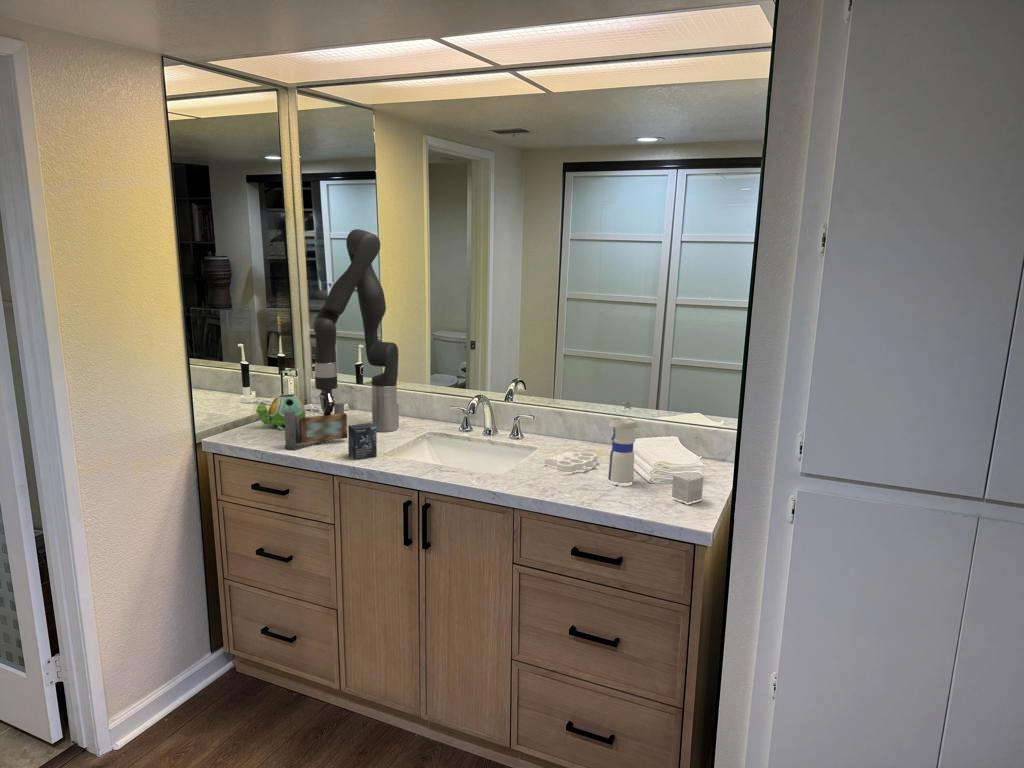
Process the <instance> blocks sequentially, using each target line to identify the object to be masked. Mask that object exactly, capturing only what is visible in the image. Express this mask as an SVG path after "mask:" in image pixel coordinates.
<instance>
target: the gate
mask: <svg viewBox="0 0 1024 768" xmlns="http://www.w3.org/2000/svg"><path fill="white" fill-rule="evenodd" d="M347 419H348V415H347V413H345V412H344V414H331V415H324V414H323V415H314V416H305V417H302V418H300V415H295V430H296V444H299V443H307V442H316V441H325V440H331V441H334V440H333V439H335V440H341V439H347V438H348V420H347Z"/></svg>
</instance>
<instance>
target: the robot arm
mask: <svg viewBox="0 0 1024 768" xmlns="http://www.w3.org/2000/svg"><path fill="white" fill-rule="evenodd" d="M345 246H346V249H347V253H348V256H349V260H350V265H349V266H348V267H347V269H346V270H345V271H344V272H343V273H342V274H341V276H340V277H338V278H337V280H336V281H335V282H334V284H333V285H332V287H331V288H330V291H329V292H328V295H327V296H326V298H325V299H326V300H325V301H324V304H323V305H322V307H321V309H320V310H319V312H318V314H317V316H316V317H315V318H314V321H313V324H312V325H313V326H312V328H313V331H314V333H315V348H314V387H315V389H316V390H320V393H319V394H318V397H319V402H320V408H321V410H322V413H323V415H332V413H333V412H334V404H335V400H334V398H335V397H334V393H333V390H335V389H337V388H338V368H337V367H338V365H337V355H336V354H337V351H336V344H337V326H336V324H337V322H338V320H339V318H340V316H341V315H342V314H343V313H344V312H345V310H346V308H347V306H348V304H349V301H350V300H351V298H352V295H353V294H354V291H355V290H356V292H357V293H356V294H357V298H358V299H357V300H358V304H359V305H358V307H359V311H360V315H361V319H362V325H363V331H364V332H363V333H364V343H365V344H364V345H365V355H366V359H367V361H368V364H369V365H370V366H373V367H380V368H381V367H382V368H384V370H383V372H382V373H381V374H377V375H373V376H372V377H371V414H372V415H371V424H373V425H375V426H376V427H377V432H379V433H389V432H393V431H396V430H398V428H400V422H399V421H400V420H399V419H400V417H399V412H400V411H399V409H400V408H399V406H400V405H399V403H398V394H397V393H398V392H397V391H398V388H397V383H398V374H399V373H398V372H399V368H398V367H399V348H398V344H396V343H395V342H392V341H391V342H390V341H379V335H378V330H379V326H380V323H381V322H382V321H383V318H384V316H385V315H386V311H387V305H386V298H385V293H384V289H383V287H382V285H381V283H380V280H379V278H378V277H377V274H376V272H375V270H374V268H373V262H374V260H375V259H376V257H378V255H379V253H380V250H381V241H380V238H379V237H378V236H377V234H375V233H372V232H370V231H367V230H363V229H361V228H359V229H357V228H355V229H353V230H351V231H350V232H349V233H348V235H347V237H346V245H345Z"/></svg>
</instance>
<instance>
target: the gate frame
mask: <svg viewBox="0 0 1024 768" xmlns="http://www.w3.org/2000/svg"><path fill="white" fill-rule="evenodd" d="M333 412H334V414H344V413H345V404H344V403H343V402H336V403H334V408H333ZM284 417H285V425H284V428H285V430H284V438H285V439H284V440H285V445H284V449H285V450H287V451H288V450H289V451H299V450H301V449H305V447H306V448H308V447H313V446H316V445H315V444H317V445H320V444H323V443H322V442H324V443H326V441H328V442H330V441H329V440H325V441H316V442H307V443H299V444H296V430H295V411H291V410H289V411H285V412H284ZM319 443H320V444H319ZM312 445H313V446H312Z"/></svg>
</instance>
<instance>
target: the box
mask: <svg viewBox="0 0 1024 768" xmlns="http://www.w3.org/2000/svg"><path fill="white" fill-rule="evenodd" d="M377 432H378V431H377V427H376V426H375V425H373V424H372V422H366V423H358V424H347V438H348V439H347V440H348V441H347V442H348V450H347V451H348V457H350V458H351V457H352V458H353V459H352V458H351V459H352V460H354V461H356V459H357V460H361V459H362V458H363V459H368V458H377V457H378V455H377V453H378V452H377V451H378V448H377V441H378V440H377Z"/></svg>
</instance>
